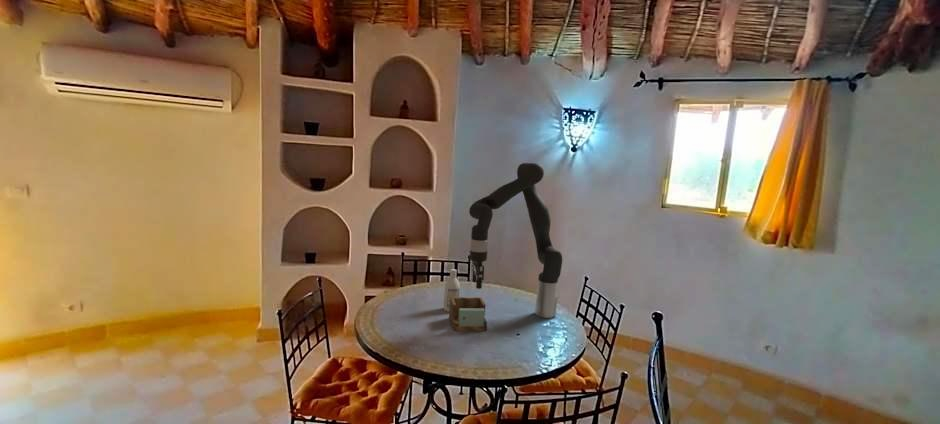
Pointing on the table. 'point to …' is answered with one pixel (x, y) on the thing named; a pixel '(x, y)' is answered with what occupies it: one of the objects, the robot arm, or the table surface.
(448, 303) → the bath foam
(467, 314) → the block
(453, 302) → the cabinet
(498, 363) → the table surface
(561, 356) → the table surface
